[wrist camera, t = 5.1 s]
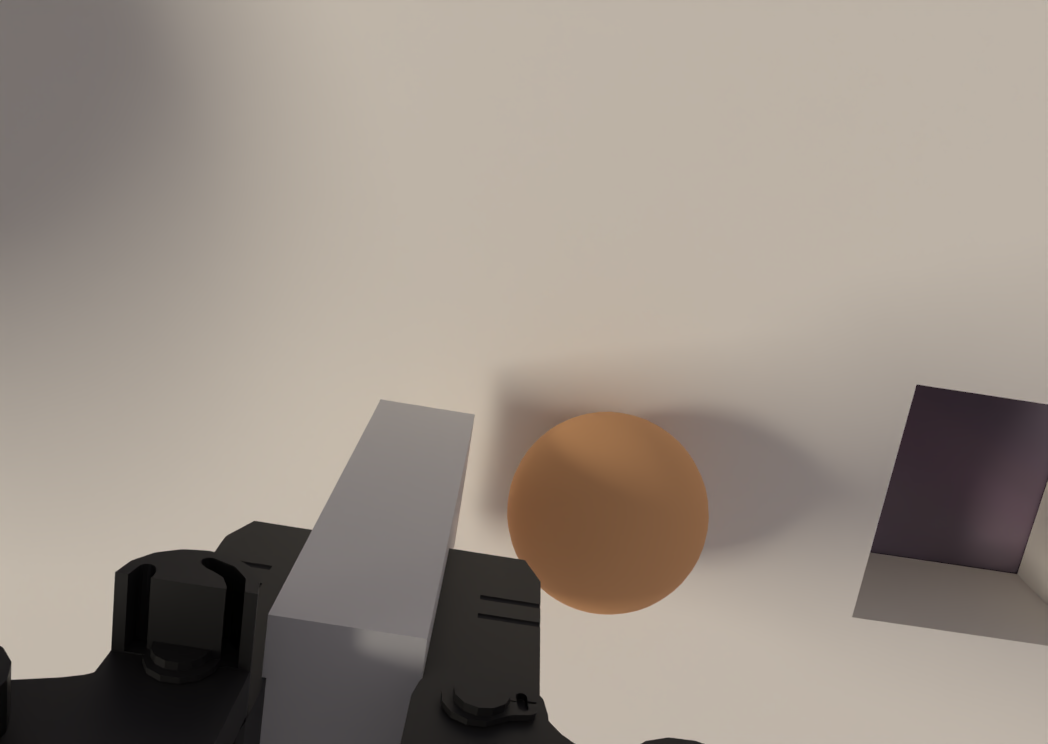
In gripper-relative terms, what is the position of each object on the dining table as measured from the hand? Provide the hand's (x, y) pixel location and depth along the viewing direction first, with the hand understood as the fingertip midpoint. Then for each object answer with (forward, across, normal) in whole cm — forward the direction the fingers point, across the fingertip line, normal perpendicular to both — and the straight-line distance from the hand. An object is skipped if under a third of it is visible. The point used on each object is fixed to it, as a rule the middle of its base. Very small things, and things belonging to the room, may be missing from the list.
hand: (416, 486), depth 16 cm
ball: (0, +3, 0) cm, 3 cm away
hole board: (+5, +4, 0) cm, 6 cm away
